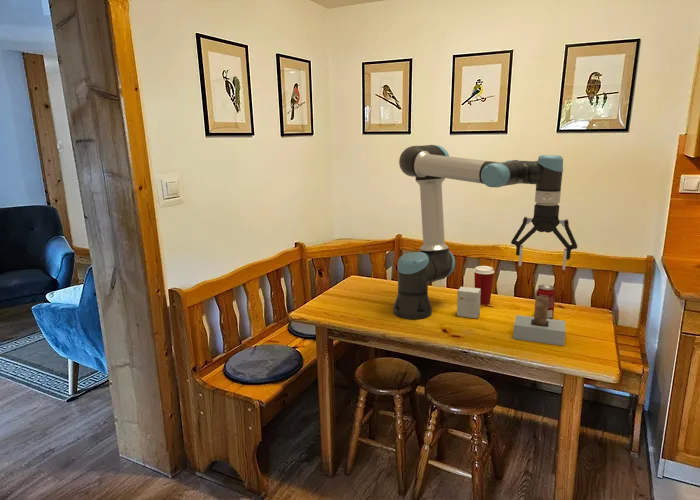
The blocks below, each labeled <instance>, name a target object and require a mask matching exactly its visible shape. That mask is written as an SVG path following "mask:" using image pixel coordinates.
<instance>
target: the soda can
mask: <svg viewBox="0 0 700 500" xmlns="http://www.w3.org/2000/svg"><path fill="white" fill-rule="evenodd" d="M538 296H543V297H547V298H548V310H547V319H552V318H554V314H555V301H556V291H555V287H554V286H553V285H550V284H549V285H548V284H539V285H538V286H537V289H536V290H535V301H536V297H538ZM535 301H534V302H535ZM534 313H535V310H534Z"/></svg>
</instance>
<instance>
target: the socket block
mask: <svg viewBox="0 0 700 500" xmlns="http://www.w3.org/2000/svg"><path fill="white" fill-rule="evenodd" d="M512 339H514V340H519V341H526V342H535V343H541V344H548V345H555V346H561V347H563V346H564V347H565V340H566V320H562V319H561V320H560V319H552V318H550V319H547V322H546V327H544V326H537V325H534V316H528V315H520V314H519V315H518V314H516V316H515V320H514V323H513V334H512Z"/></svg>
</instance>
